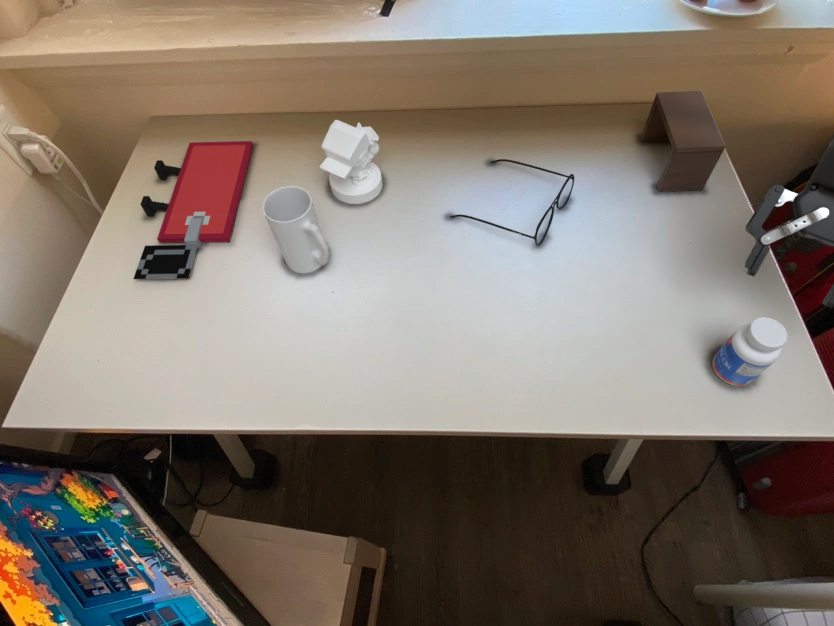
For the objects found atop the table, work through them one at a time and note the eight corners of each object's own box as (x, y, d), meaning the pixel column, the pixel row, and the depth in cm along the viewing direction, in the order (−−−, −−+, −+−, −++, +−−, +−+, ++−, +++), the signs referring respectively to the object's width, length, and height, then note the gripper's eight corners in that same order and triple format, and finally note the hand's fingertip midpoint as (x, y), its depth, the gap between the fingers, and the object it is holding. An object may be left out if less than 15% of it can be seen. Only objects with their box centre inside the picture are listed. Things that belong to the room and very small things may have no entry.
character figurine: (392, 179, 94) (385, 120, 84) (358, 215, 90) (347, 158, 80) (351, 160, 97) (339, 102, 87) (316, 195, 93) (300, 138, 83)
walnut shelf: (702, 190, 89) (725, 146, 82) (657, 192, 90) (677, 148, 82) (681, 135, 96) (701, 90, 89) (640, 137, 96) (656, 92, 89)
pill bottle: (708, 347, 74) (740, 308, 66) (751, 352, 74) (789, 313, 65) (713, 384, 72) (747, 348, 63) (758, 390, 71) (798, 354, 63)
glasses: (535, 253, 84) (536, 230, 80) (450, 225, 90) (447, 202, 86) (573, 192, 90) (576, 168, 86) (491, 169, 96) (490, 146, 92)
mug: (275, 259, 86) (252, 206, 76) (307, 233, 89) (289, 178, 79) (319, 294, 82) (300, 243, 72) (351, 266, 85) (338, 212, 75)
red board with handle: (123, 283, 85) (221, 281, 84) (114, 271, 83) (215, 270, 82) (172, 149, 101) (254, 147, 101) (165, 136, 99) (249, 134, 98)
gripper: (805, 127, 59) (728, 268, 64) (960, 174, 55) (865, 321, 59) (791, 137, 66) (722, 263, 71) (928, 179, 61) (845, 311, 66)
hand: (787, 290), depth 65 cm, fingers open, 8 cm apart
